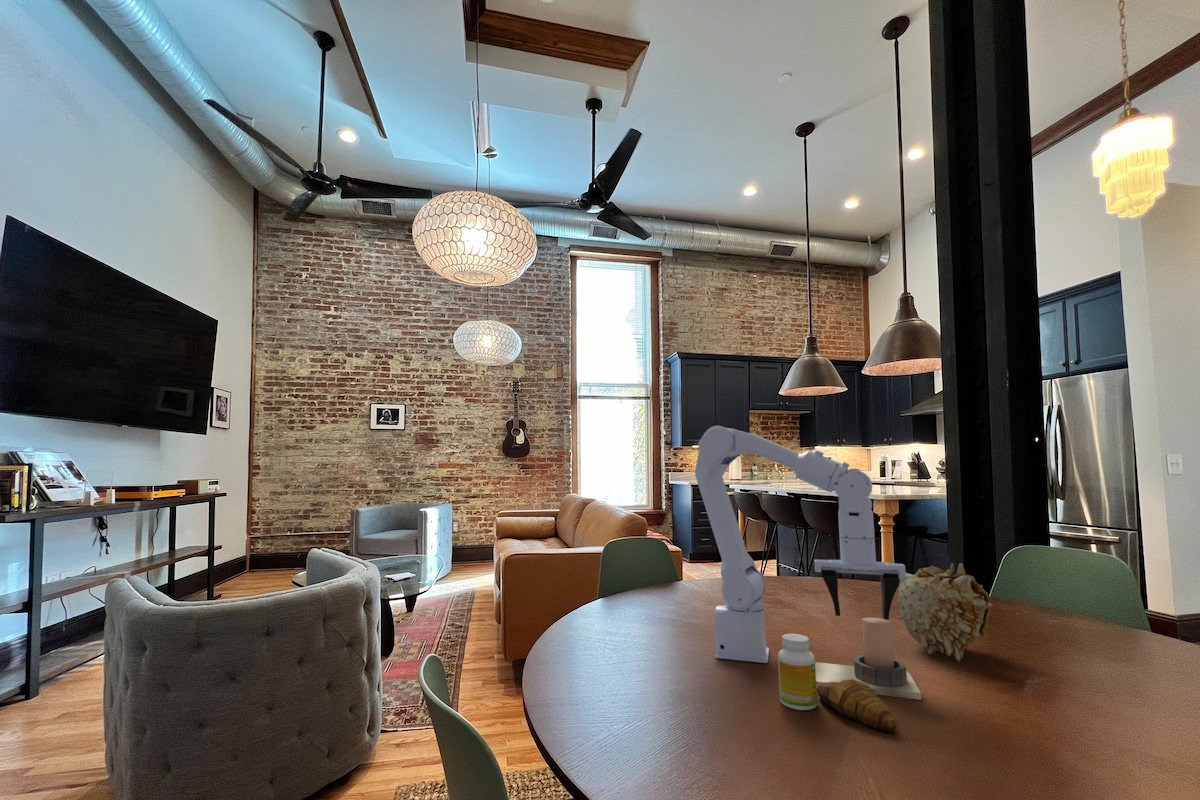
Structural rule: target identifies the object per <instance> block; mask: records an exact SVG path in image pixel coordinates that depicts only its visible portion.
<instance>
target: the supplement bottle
mask: <svg viewBox="0 0 1200 800" xmlns="http://www.w3.org/2000/svg"><path fill="white" fill-rule="evenodd" d="M781 645H782V647H783V648H782V649H780V650H779V651H778V654H777V661H778V662H777V664H778V683H779V684H778V688H779V701H780V703H781V704H782V705H784V706H785V707H787V708H789V709H792V710H796V711H811V710H814V709H816V708H817V706H818V692H817V688H816V670H815V662H816V659H815V655H814V654H813V653H812V652H811V651H809V649H810V639H809V637H808V636H805V635H803V634H799V633H785V634H782V635H781Z"/></svg>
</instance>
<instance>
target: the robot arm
mask: <svg viewBox="0 0 1200 800" xmlns="http://www.w3.org/2000/svg"><path fill="white" fill-rule="evenodd" d="M697 446H698V454H697V460H696V464H695V471H694V473H695V475H694V476H695V479H696V483H697V485H698V488H699V492H700V495H701V497H702V501H703V505H704V507H705V510H706V514H707V517H708V520H709V524H710V526H711V529H712V533H713V536H714V539H715V543H716V545H717V549H718V551H719V555H720V558H721V566H720V575H721V579H722V586H721V594H722V597H723V599H724V601H725V604H724V605H722V604H720V605H716V607H715V611H714V643H715V654H714V655H715V658H716V659H724V660H730V661H731V660H733V661H742V662H752V663H753V662H754V663H763V664H767V663H769V656H770V648H769V647H768V646H767V640H766V639H767V637H766V636H767V635H766V615H765V613H766V612H765V604H764V603H763V600H762V597H763V596H764V595H765V593H766V591H767V590H766V589H767V582H766V580H765V576H763V574H762V573H761V572H760V571H759V569H758V568H757V565H756V563H755V560H754V559H753V558H752V557H751V555H750V554H749V553H748V551H747V547H746V544H745V541H744V538H743V536H742V532H741V530H740V526H739V524H738V523H739V522H738V520H737V517H736V514H735V511H734V508H733V506H732V502H731V499H730V497H729V496H730V495H729V493H728V491H727V486H726V484H725V481H724V474H725V473H726V471H727V470H728V468H729V467H730V464H732V462H733V461H735V460H736V459H737V458H738V457H739V456H741V455H754V454H755V455H757V456H759V457H762V458H764V459H767V460H770V461H772V462H774V463H778V464H780V465H783V466H786V467H787V468H791V469H792V470H793V471H794V474H795V476H796V478H797V479H798V480H801V481H803V482H805V483H808V484H810V485H812V486H814V487H816V488H819V489H821V490H823V491H826V492H828V493H832V492H835V494H836V495H837V497H838V512H837V514H838V515H837V516H838V517H837V518H838V530H839V532H838V534H839V552H840V559H814V561H813V562H814V572H815V573H820V574H821V577H822V580H823V581H824V583H825V585H826V587H827V590H828V592H829V594H830V595H829V596H830V597H831V599H832V604H833V608H834V614H835V616H836V617H841V608H840V601H839V587H838V586H839V585H838V584H839V583H838V574H854V575H856V574H858V575H872V576H873V575H874V576H875V575H876V576H879V579H880V587H881V588H880V589H881V614H882V617H883V618H882V619H885V620H888V621H890V611H891V606H892V603H893V599H894V596H895V594H896V592H897V589H898V586H899V583H900V579H899V577H906V573H907V572H906V565H905V564H903V563H892V562H884V561H877V555H876V543H875V541H876V539H875V537H876V535H875V525H874V524H875V523H874V521H875V520H874V511H873V510H872V508H873V501H872V500H871V499H872V498H871V497H869V496H870V495H871V493H872V491H873V483H872V480H871V478H870V476H869V475H867V473H865V472H864V471H862V470H861V469H859V468H849V467H850V464H849V463H848V462H844V461H843V462H842V463H840V462H839V461H836V460H834V459H831V458H829V457H826V456H824V452H822V451H819V450H814V451H815V452H814V451H811V450H808V451H805V452H803V453H798V452H796V451H794V450H791V449H790V448H787V447H784V446H782V445H780V444H778V443H776V442H774V441H771V440H769V439H766V438H764V437H762V436H760V435H757V434H755V433H750V432H746V431H742V430H738V429H736V428H729V427H724V426H721V425H714V426H710V427H709V428H708V429H707V430H706V431H705V432H704V433H703V435H702V436H701V438H700V439H699V441H698V443H697ZM837 573H838V574H837Z"/></svg>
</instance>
